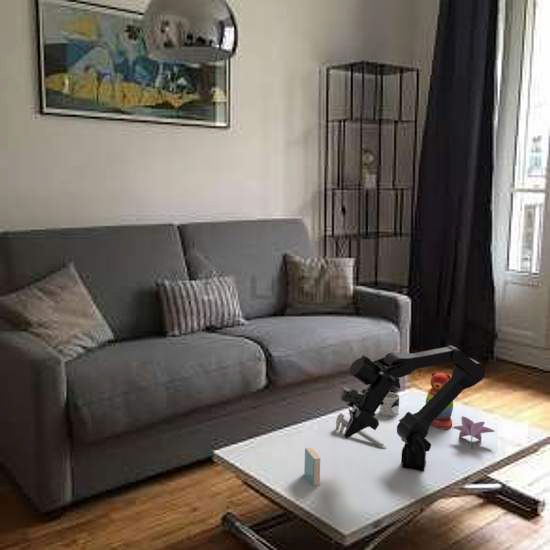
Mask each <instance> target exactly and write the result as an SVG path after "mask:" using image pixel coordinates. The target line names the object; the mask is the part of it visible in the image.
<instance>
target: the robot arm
mask: <svg viewBox="0 0 550 550" xmlns="http://www.w3.org/2000/svg"><path fill="white" fill-rule="evenodd" d="M449 363H452V365H454V367H453V369H452V373H451V375H450V377H451V378H450V380H449V381H448V382H447V383H446V384H445V385H444V386H443V387H442V388H441V389H440V390H439V391H438V392H437V393H436V394H435V395H434V396H433V397H432V398H431V399H430V400H429V401H428V402H427V403H426V402H425V404H424V405H423V406H422V407H421V408H420V409H419V410H418V411H417V412H415V413H414V412H413V413H412V412H410V411H407V412H406V413H405V415H404V416H403V417H402V418H401V419H399V420H398V424H397V426H396V434H397V435H398V436H399V438H400V440H401V441H402V442H404V446H403V447H402V449H401V462H400V463H401V464H402V465H401V468H403V469H408V470H413V471H419V472H425V469H426V465H427V460H426V459H427V456H426V455H427V452H430V450H431V448H432V443H431V442H430V441H428V440H427V439H426V437H427V436H428V435H429V430H430V428H431V427H430V426H432V425H431V423H432V422H433V421H434V420H435V419H436V418H437V417H438V416H439V415H440V414H441V413H442V412H443V411H444V410H445V409H446V408H447V406H448V405H449V404H450V403H451V402H452V401H453V402H454V401H455V399H456V398H458V396H459V395H460V394H461V393H462V392H463V391H465V390H467V389H469V388H472V387H475V386H476V385H477V384H478V383H480V382H481V381H482V380H484V378H485V377H486V368H485V366H484V365H483V364H482V363H481V362H478V360H475V359H474V358H471V357H469V356H467V355H466V354H464V353H463V352H462V350H461V349H459V348H457V347H456V346H453V345H447V346H445V347H440V348H439V347H438V348H433V349H429V350H424V351H419V352H414V353H409V352H408V353H407V352H388V353H387V354H386V355H385V356H384V357H382V358H379V359H376V360H374V361H372V360H371V358H369V357H368V356H366V355H365V354H363V355H362V356H361V357H359V358H357V359H356V360H355V361H353V362H352V363H351V365H350V366H349V371H348V373H349V375H350V376H352V377H353V378H355V379H356V380H357V381H359V382H361V383H362V384H364V385H365V386H367V388H365V387H364V388H362V389H361V390H360V391H359V390H357V389H353V388H348V387H344V386H343V387H342V388H341V392H340V396H339V398H340V400H341V401H342V402H345V404H346V406H348V407H351V409H350V408H348V413H349V419H348V420H349V422H348V425H347V428H346V427H345V429H344V430H345V431H344V433H343V437H344V438H345V439H348V438H350V437H352V436H353V435H356V434H358V433H357V432H359V431H361V430H363V431H364V429H367V428H371V429H372V430H374V431H376V430H377V429H378V428H379V425H380V423H379V419H377V417H376V415H377V414H376V412H377V410H378V409H379V408H380V405H383V404H384V402H383V400H384V399H385V397H386V396H387V394H388V393H389V392H391V390H392V389H393V387H396V388H397V389H401V384H400V378H403V377H406V376H409V375H411V374H412V373H413V372H415V371H416V370H419V369H424V368H428V367H434V366H437V365H438V366H439V365H445V364H449ZM381 372H382V373H381Z"/></svg>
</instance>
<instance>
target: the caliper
mask: <svg viewBox="0 0 550 550" xmlns="http://www.w3.org/2000/svg"><path fill="white" fill-rule="evenodd" d="M335 422H336V423H335V429H336V430H339V431H340V432H342V430H343V431H344V430H345V429H346V428H347V425H348V422H349V419H347V418H345V414H343V413H342V412H340V413H339V415H337V417H336V421H335ZM356 434H358V435H359V436H361V437H362V438H364V439H365V440H367V441H369V442H370V443H372V444H373V445H374V446H376V447H378V446H379V447H378V448H381V447H382V449H384V450H386V449H387V446H385V445H384V442H381V441H380V440H379V439H377V438H375V437H373V436H372V435H371V434H369V433H367V432H366V431H364V429H363V430H361V431H359V432H357V433H356Z"/></svg>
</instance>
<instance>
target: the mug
mask: <svg viewBox="0 0 550 550" xmlns="http://www.w3.org/2000/svg"><path fill="white" fill-rule="evenodd" d="M383 402H384V404H383V405H380V406H379V413H380V414H381V415H383V416H385V417H396V415H397V416H398V415H399V412H400V410H399V409H400V394H398V393H395V392H391V391H389V393H388V394H387V396H386V397H385V399H384V400H383Z"/></svg>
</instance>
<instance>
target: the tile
mask: <svg viewBox="0 0 550 550" xmlns="http://www.w3.org/2000/svg"><path fill="white" fill-rule="evenodd" d="M303 470H304V476H305V477H306V479H307V480H308V481H309V483H311V485H312V487H315V486H320V482H321V481H320V480H321V457H320V456H319V454H318V453H317V452H316V451H315V449H314V448H313V447H310V446H309V447H305V448H304V469H303Z"/></svg>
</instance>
